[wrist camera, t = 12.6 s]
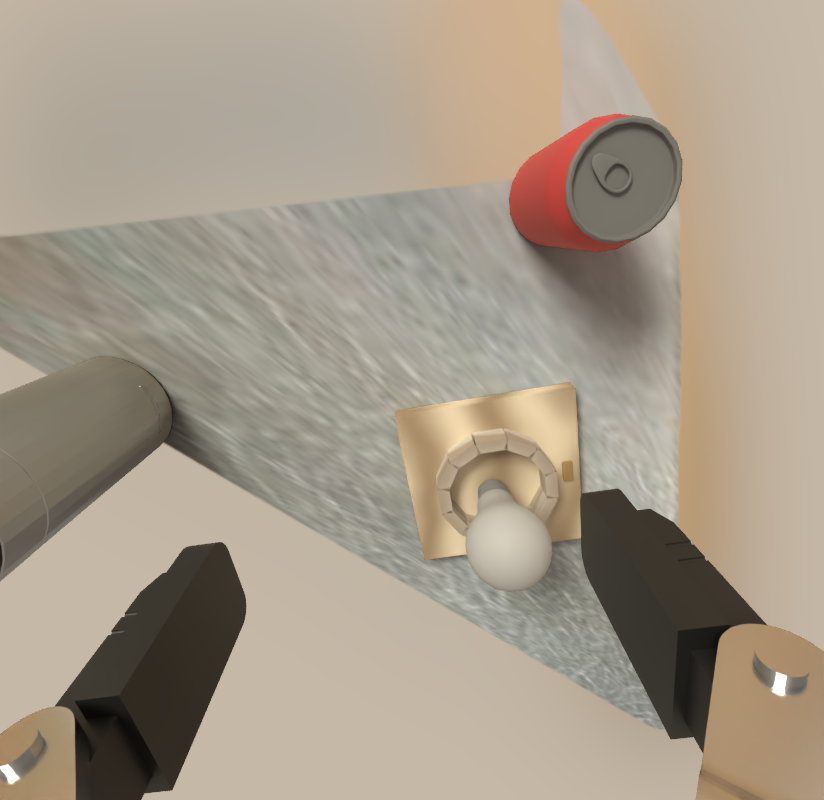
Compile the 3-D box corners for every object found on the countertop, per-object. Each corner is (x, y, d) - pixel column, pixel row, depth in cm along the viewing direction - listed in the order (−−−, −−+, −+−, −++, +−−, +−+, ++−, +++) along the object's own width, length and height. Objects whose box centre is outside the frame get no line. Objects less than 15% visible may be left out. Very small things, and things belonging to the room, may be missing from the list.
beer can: (547, 126, 31) (623, 67, 20) (616, 186, 32) (724, 162, 21) (488, 210, 33) (527, 200, 22) (556, 264, 34) (625, 280, 23)
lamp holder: (424, 549, 44) (425, 575, 41) (395, 410, 39) (393, 427, 35) (577, 527, 43) (591, 552, 40) (569, 382, 38) (584, 396, 34)
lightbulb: (531, 506, 40) (570, 601, 30) (465, 521, 41) (482, 619, 31) (517, 448, 38) (555, 528, 28) (448, 465, 39) (460, 550, 29)
